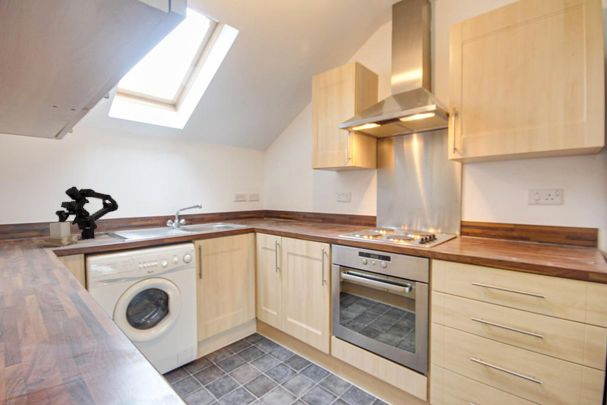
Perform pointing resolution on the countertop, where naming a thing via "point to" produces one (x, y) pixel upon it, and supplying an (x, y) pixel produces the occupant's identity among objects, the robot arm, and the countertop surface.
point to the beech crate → (60, 241)
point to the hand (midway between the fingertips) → (65, 225)
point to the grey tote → (59, 230)
